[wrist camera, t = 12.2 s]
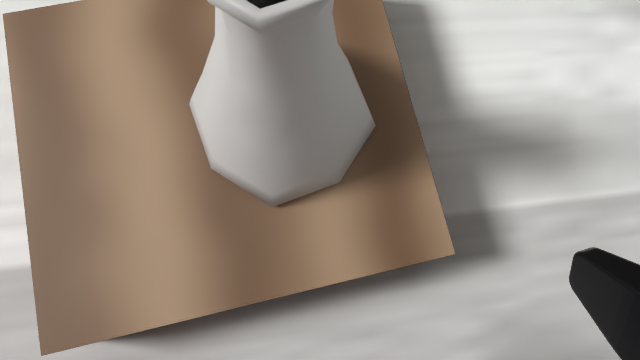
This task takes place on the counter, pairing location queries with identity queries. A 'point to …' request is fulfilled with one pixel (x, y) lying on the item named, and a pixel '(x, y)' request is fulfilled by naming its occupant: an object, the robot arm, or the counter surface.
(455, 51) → the counter surface
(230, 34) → the flask
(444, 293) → the counter surface
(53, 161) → the board
